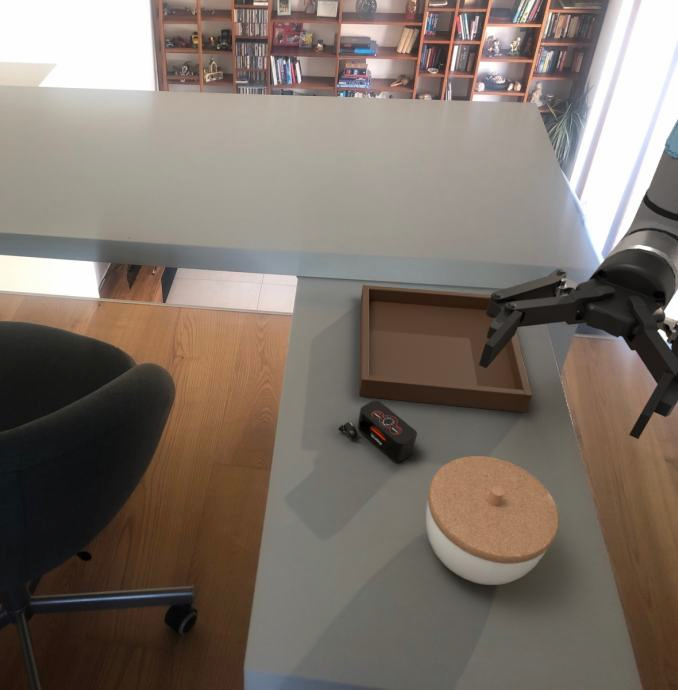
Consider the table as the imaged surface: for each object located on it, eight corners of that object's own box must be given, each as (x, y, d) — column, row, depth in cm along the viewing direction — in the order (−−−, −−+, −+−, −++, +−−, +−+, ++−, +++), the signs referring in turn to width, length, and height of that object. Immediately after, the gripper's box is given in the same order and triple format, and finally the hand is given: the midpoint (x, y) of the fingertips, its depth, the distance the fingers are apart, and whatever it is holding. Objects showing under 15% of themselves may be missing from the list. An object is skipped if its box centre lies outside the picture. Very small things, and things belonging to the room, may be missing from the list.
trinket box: (528, 516, 68) (556, 453, 62) (540, 617, 60) (574, 557, 54) (416, 497, 70) (433, 434, 64) (414, 592, 62) (433, 531, 56)
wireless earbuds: (367, 414, 79) (371, 394, 77) (414, 454, 74) (419, 433, 72) (337, 432, 77) (339, 412, 75) (383, 474, 72) (387, 453, 70)
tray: (501, 312, 92) (507, 295, 90) (525, 413, 78) (532, 395, 77) (360, 301, 95) (362, 284, 93) (358, 396, 81) (361, 379, 79)
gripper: (753, 357, 69) (694, 489, 57) (512, 266, 82) (424, 359, 70) (793, 298, 64) (737, 429, 53) (530, 210, 77) (438, 300, 65)
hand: (558, 389), depth 61 cm, fingers open, 13 cm apart
